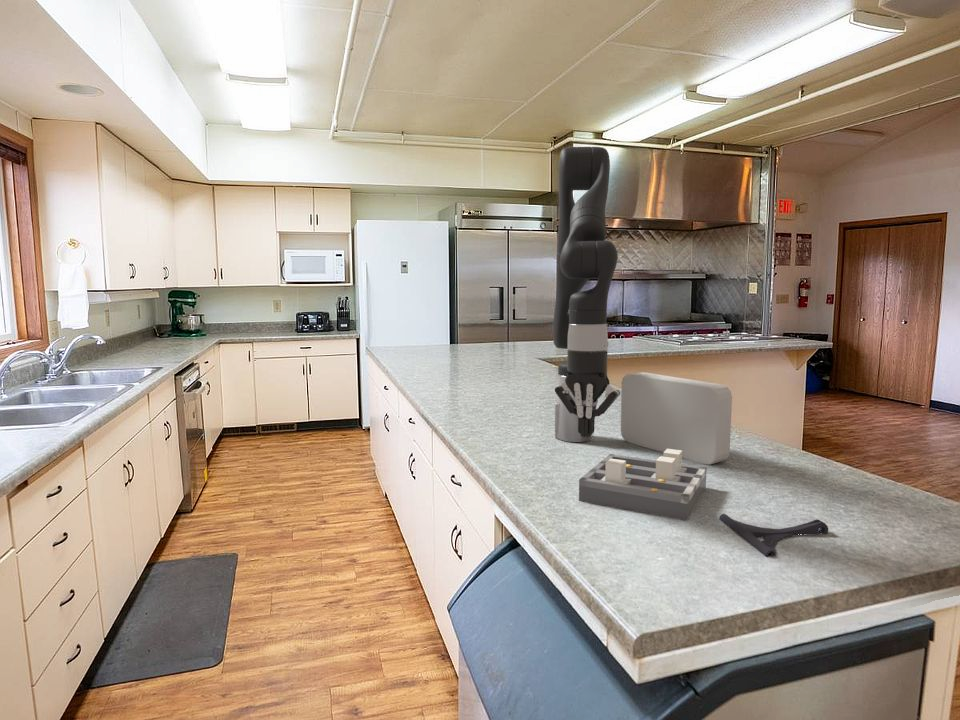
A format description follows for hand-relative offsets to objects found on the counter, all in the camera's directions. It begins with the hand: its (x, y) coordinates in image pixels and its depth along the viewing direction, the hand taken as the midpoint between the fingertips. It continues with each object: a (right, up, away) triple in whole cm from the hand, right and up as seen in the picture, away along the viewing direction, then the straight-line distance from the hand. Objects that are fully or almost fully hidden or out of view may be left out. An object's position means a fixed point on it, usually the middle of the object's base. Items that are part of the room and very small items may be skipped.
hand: (586, 436), depth 116 cm
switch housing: (+12, -12, +2) cm, 17 cm away
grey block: (+26, -8, +31) cm, 42 cm away
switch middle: (+15, -9, -1) cm, 17 cm away
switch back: (+18, -8, +5) cm, 20 cm away
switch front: (+5, -9, -2) cm, 10 cm away
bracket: (+29, -15, -17) cm, 37 cm away
